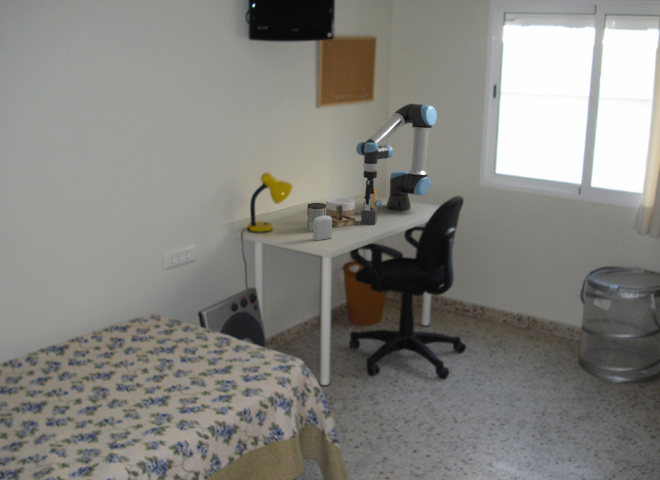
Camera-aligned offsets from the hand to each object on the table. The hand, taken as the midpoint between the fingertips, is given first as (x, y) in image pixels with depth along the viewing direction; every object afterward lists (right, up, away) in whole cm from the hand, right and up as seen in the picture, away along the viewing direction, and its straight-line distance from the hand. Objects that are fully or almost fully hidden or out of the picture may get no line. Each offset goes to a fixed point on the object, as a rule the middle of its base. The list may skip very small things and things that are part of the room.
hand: (368, 207), depth 385 cm
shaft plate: (-17, -9, +1) cm, 19 cm away
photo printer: (-26, -18, -31) cm, 44 cm away
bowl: (-16, -3, +24) cm, 29 cm away
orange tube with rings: (+3, -3, +24) cm, 24 cm away
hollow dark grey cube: (0, -9, +3) cm, 9 cm away
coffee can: (-30, -13, -13) cm, 35 cm away
